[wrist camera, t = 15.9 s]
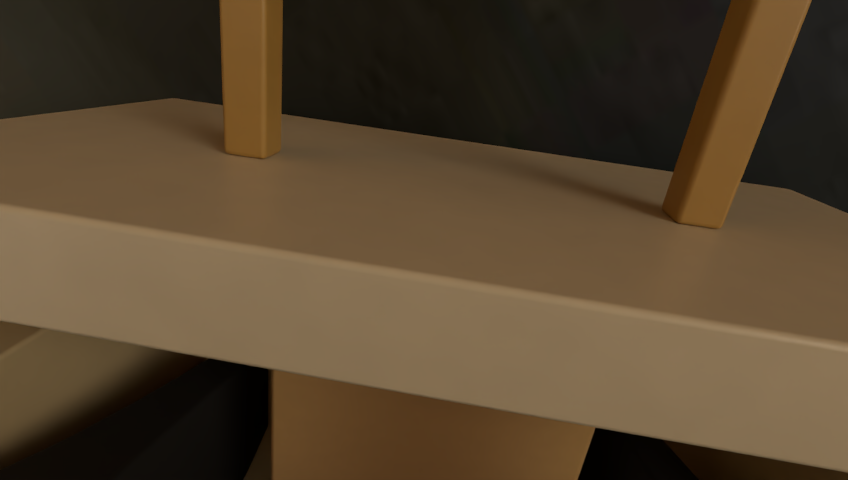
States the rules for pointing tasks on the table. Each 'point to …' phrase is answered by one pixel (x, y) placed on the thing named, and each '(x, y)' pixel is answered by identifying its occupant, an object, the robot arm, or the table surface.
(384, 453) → the brown wooden block
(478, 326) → the drawer
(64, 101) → the table surface
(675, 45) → the table surface
